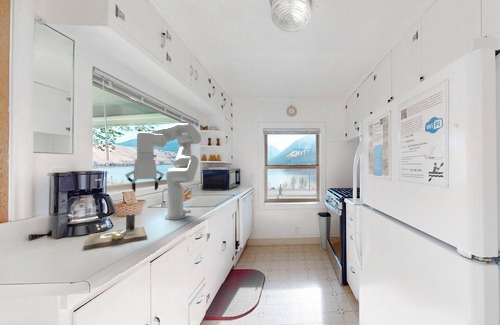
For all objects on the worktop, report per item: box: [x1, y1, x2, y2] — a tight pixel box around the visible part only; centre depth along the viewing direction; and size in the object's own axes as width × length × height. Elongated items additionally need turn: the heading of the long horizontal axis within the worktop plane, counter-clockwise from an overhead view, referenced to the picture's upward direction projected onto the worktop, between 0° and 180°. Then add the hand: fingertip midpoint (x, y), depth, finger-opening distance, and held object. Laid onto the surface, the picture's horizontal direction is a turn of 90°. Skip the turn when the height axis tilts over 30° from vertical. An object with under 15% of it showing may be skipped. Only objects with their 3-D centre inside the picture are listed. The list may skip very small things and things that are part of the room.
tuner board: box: [83, 226, 148, 250], centre depth 92 cm, size 22×16×2 cm
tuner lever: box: [112, 213, 136, 240], centre depth 93 cm, size 16×4×7 cm, turn 8°
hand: (145, 190), depth 103 cm, fingers open, 9 cm apart
